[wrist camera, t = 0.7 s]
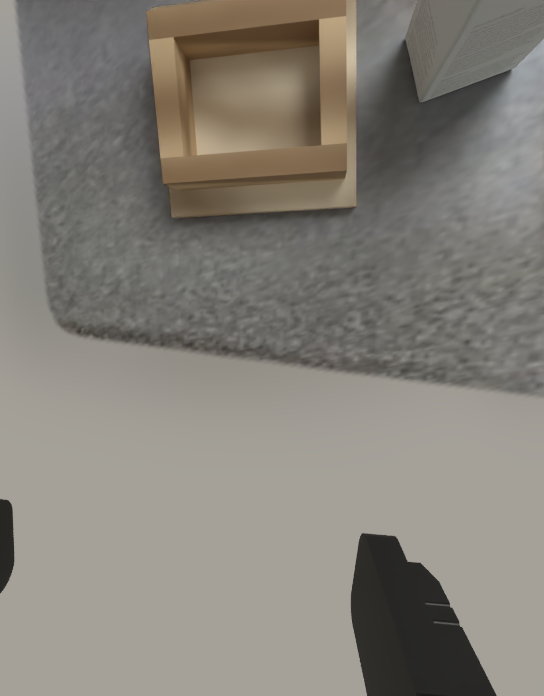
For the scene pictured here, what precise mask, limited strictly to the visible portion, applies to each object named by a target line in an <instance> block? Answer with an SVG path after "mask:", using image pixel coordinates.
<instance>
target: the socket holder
mask: <svg viewBox="0 0 544 696" xmlns="http://www.w3.org/2000/svg"><path fill="white" fill-rule="evenodd" d="M146 14H147V25H148V35H149V45H150V55H151V66H152V76H153V86H154V96H155V107H156V117H157V127H158V137H159V148H160V158H161V168H162V179H163V184H165V185H167V186H169V195H170V206H171V216H172V217H173V218H189V217H206V216H223V215H239V214H256V213H272V212H289V211H305V210H322V209H338V208H355V207H356V0H204V1H196V2H189V3H181V4H174V5H166V6H159V7H152V10H149V11H146Z"/></svg>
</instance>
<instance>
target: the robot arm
mask: <svg viewBox="0 0 544 696" xmlns="http://www.w3.org/2000/svg"><path fill="white" fill-rule="evenodd" d="M13 566H14V537H13V512H12V505H11V503H10V502H9V501H8V500H2V499H0V593H1V592H2V591H3V589H4V588H5V586H6V584H7V583H8V581H9V578H10V576H11V573H12V570H13ZM351 614H352V615H351V616H352V623H353V629H354V634H355V638H356V643H357V648H358V652H359V658H360V662H361V668H362V672H363V677H364V681H365V686H366V692H367V696H496V694H495V692H494V690H493V688H492V686H491V684H490V682H489V680H488V678H487V676H486V674H485V672H484V670H483V668H482V666H481V664H480V662H479V660H478V658H477V656H476V654H475V652H474V650H473V648H472V646H471V644H470V642H469V640H468V638H467V636H466V634H465V632H464V630H463V628H462V627H460V625H459V620H458V618H457V616H456V614H455V613H454V610H453V609H452V608H450V603H449V601H448V599H447V597H446V595H445V593H444V591H443V589H442V587H441V585H440V583H439V581H438V580H437V579H436V578H435V577H434V576H433V575H432V574H431V573H430V572H429V571H428V570H427V569H426V568H425V567H424V566H423V565H422V564H421V563H414V562H407V560H406V557H405V555H404V553H403V550H402V548H401V546H400V543H399V541H398V539H397V538H396V537H395V536H386V535H376V534H375V535H374V534H364V533H363V534H361V536H360V539H359V545H358V552H357V558H356V565H355V572H354V578H353V585H352V592H351Z"/></svg>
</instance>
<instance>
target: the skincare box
mask: <svg viewBox="0 0 544 696" xmlns="http://www.w3.org/2000/svg"><path fill="white" fill-rule="evenodd" d="M543 39H544V0H418V1H417V4H416V7H415V10H414V13H413V16H412V19H411V22H410V25H409V28H408V31H407V34H406V44H407V48H408V52H409V56H410V61H411V66H412V70H413V75H414V80H415V84H416V89H417V94H418V98H419V102H420V103H422V102H425V101H428V100H430V99H433V98H436V97H438V96H441V95H444V94H447V93H449V92H452V91H455V90H457V89H460V88H463V87H465V86H468V85H470V84H473V83H476V82H479V81H481V80H484V79H487V78H489V77H492V76H495V75H497V74H500V73H503V72H505V71H508V70H511V69H513V68H515V67H516V66H517V65H518V64H519V63H520V62H521V61H522V60H523V59H524V58H525V57H526V56H527V55H528V54H529V53H530V52H531V51H532V50H533V49H534V48H535V47H536V46H537V45H538V44H539V43H540V42H541V41H542V40H543Z"/></svg>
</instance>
